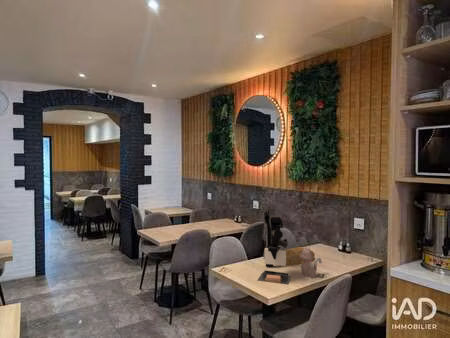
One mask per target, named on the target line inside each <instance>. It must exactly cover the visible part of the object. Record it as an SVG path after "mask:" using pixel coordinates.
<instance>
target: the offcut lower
mask: <svg viewBox="0 0 450 338" xmlns="http://www.w3.org/2000/svg"><path fill="white" fill-rule="evenodd" d="M266 277H267V276H266ZM281 281H282V278H280V281H277V280H266V278H265V282H264V283H271V282H272V283H274V284H279V283H280V285H282V284H281Z"/></svg>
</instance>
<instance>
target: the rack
mask: <svg viewBox="0 0 450 338" xmlns="http://www.w3.org/2000/svg"><path fill="white" fill-rule="evenodd" d="M267 275H278V276H280V278H282V281H281V284H280V283H278V284H280V285H286V286H287V285H288V286H289V285H290V282H291V279H292V275H289V272H281V271H275V270H274V271H272V270H264V271H263V272H262V273H261V274H260V276H259V277H258V278H257V280H256V281H259V282H264V283H266V282H265V278H266V276H267ZM270 283H272V282H270Z"/></svg>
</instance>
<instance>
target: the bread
mask: <svg viewBox="0 0 450 338" xmlns="http://www.w3.org/2000/svg"><path fill="white" fill-rule="evenodd" d="M304 248H305V247H302V246H299V247H293V248H286V249H285V250H286V266H285V267H291V266H296V265H301V258H300V257H299V255H300V253H301V251H303V250H304ZM311 253H312V256H313V259H312V262H314V261H313V260H315V259H316V257H315V254H316V253H315V252H314V251H313V250H311ZM277 266H278V267H282V266H281V265H277Z"/></svg>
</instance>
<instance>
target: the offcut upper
mask: <svg viewBox="0 0 450 338" xmlns="http://www.w3.org/2000/svg"><path fill="white" fill-rule="evenodd" d="M266 280H277V281H280V276H278V275H267V277H266Z"/></svg>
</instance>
